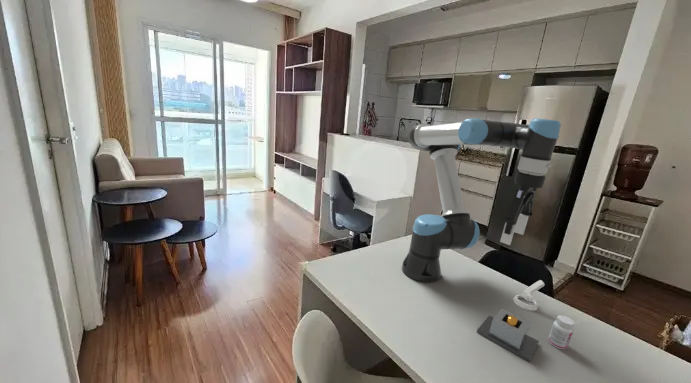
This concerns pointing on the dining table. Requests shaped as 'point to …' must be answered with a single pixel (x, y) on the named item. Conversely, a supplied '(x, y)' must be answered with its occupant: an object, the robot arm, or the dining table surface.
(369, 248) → the dining table surface
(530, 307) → the vr controller
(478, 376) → the dining table surface
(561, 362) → the dining table surface
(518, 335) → the grey square socket block
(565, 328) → the pill bottle
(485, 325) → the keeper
